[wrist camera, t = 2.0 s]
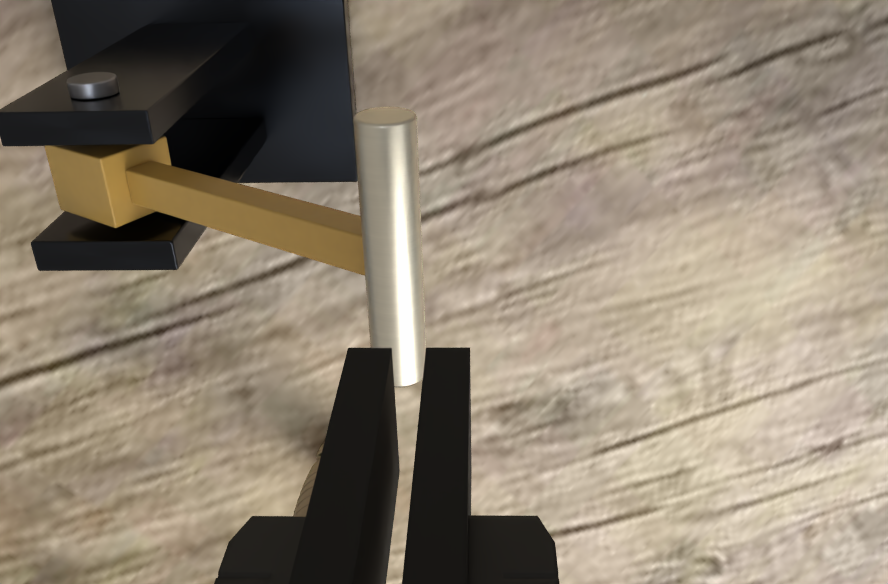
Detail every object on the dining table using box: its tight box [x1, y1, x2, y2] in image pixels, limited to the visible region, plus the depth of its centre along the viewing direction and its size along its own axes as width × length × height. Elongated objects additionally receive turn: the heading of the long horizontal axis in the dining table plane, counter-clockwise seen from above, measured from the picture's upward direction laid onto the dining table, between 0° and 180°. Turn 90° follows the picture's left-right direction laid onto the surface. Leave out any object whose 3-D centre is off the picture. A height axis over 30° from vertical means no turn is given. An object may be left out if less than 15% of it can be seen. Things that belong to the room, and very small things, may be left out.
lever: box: [45, 107, 426, 387], centre depth 24 cm, size 13×7×2 cm
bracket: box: [0, 0, 358, 271], centre depth 31 cm, size 12×9×14 cm
